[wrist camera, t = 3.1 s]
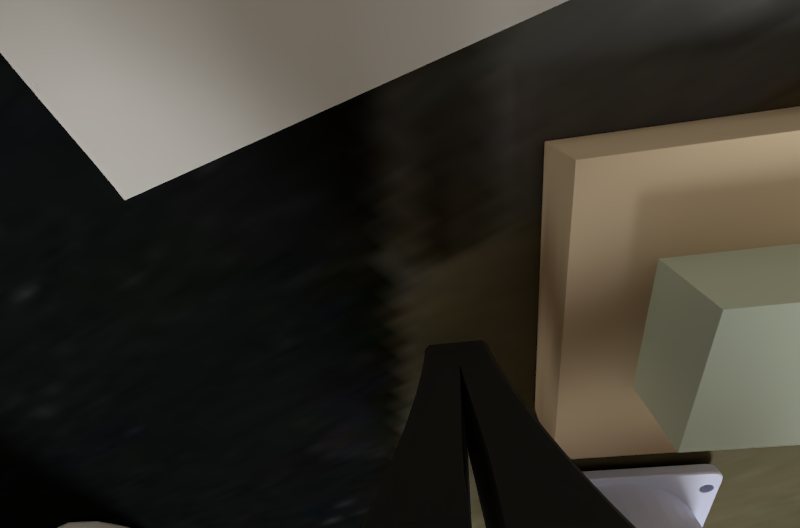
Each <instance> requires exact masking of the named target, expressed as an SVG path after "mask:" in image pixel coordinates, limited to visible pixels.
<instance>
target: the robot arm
mask: <svg viewBox="0 0 800 528" xmlns="http://www.w3.org/2000/svg"><path fill="white" fill-rule="evenodd" d="M467 448H468V449H467ZM468 452H469V457H470V461H471V465H472V470H473V474H474V478H475V483H476V487H477V491H478V495H479V500H480V504H481V508H482V512H483V517H484V521H485V525H486V528H702V527H703V524H704V522H705V519H706V517H707V515H708V512H709V510H710V508H711V505H712V503H713V500H714V498H715V496H716V493H717V491H718V489H719V486H720V484H721V481H722V478H723V476H722V474H721V473H720V472H719V470H718V469H717V468H716V466H714V465H711V464H694V465H678V466H662V467H646V468H630V469H614V470H598V471H581V470H580V469H579V468H578V467H577V466H576V465H575V463H574V462H573V461H572V460H571V459H570V458H569V457H568V456H567V454H566V453H565V452H564V451H563V450H562V448H561V447H560V446H559V445H558V444H557V443H556V441H555V440H554V439H553V438H552V437H551V435H550V434H549V433H548V432H547V431H546V429H545V428H544V427H543V426H542V424H541V423H540V422H539V421H538V419H537V418H536V417H535V416H534V414H533V413H532V412H531V410H530V409H529V408H528V406H527V405H526V404H525V402H524V401H523V400H522V398H521V397H520V396H519V394H518V393H517V392H516V390H515V389H514V387H513V386H512V384H511V383H510V382H509V380H508V379H507V377H506V376H505V374H504V373H503V371H502V370H501V368H500V366H499V365H498V363H497V362H496V360H495V358H494V356H493V355H492V353H491V351H490V349H489V347H488V345H487V344H486V343H485V342H484V341H482V340H480V341H469V342H459V343H449V344H438V345H429V346H428V347H427V348H426V349H425V358H424V364H423V369H422V374H421V378H420V382H419V385H418V389H417V393H416V396H415V399H414V402H413V405H412V408H411V411H410V414H409V417H408V420H407V423H406V426H405V429H404V431H403V434H402V436H401V439H400V441H399V444H398V446H397V449H396V451H395V454H394V456H393V459H392V461H391V464H390V466H389V468H388V470H387V473H386V475H385V477H384V479H383V482H382V484H381V486H380V488H379V490H378V492H377V494H376V496H375V498H374V501H373V503H372V505H371V507H370V509H369V511H368V513H367V515H366V517H365V519H364V521H363V522H362V524H361V526H360V528H472V524H471V505H470V486H469V467H468Z"/></svg>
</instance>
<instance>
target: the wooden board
mask: <svg viewBox="0 0 800 528" xmlns="http://www.w3.org/2000/svg"><path fill="white" fill-rule="evenodd" d="M798 243H800V106H798V107H791V108H784V109H776V110H769V111H762V112H755V113H747V114H740V115H733V116H726V117H718V118H711V119H704V120H697V121H689V122H682V123H675V124H668V125H660V126H653V127H646V128H639V129H631V130H624V131H617V132H609V133H602V134H595V135H588V136H580V137H573V138H566V139H559V140H551V141H545V145H544V173H543V200H542V227H541V255H540V282H539V309H538V337H537V364H536V391H535V411H536V414H537V417H538V419H539V422H540V423H541V424H542V426H543V427H544V428H545V429H546V431H547V432H548V433H549V434H550V435H551V437H552V438H553V439H554V440H555V441H556V443H557V444H558V445H559V446H560V447H561V448H562V450H563V451H564V452H565V453H566V454H567V456H568V457H569V458H570V459H581V458H596V457H611V456H627V455H642V454H657V453H672V452H677V450H676V449H675V447H674V446H673V444H672V443H671V441H670V440H669V439H668V437H667V436H666V434H665V433H664V431H663V430H662V428H661V427H660V425H659V424H658V422H657V421H656V420H655V418H654V417H653V415H652V414H651V412H650V411H649V409H648V408H647V406H646V405H645V404H644V402H643V401H642V399H641V398H640V396H639V395H638V393H637V392H636V390H635V389H634V387H633V383H634V378H635V373H636V368H637V363H638V358H639V354H640V349H641V344H642V339H643V334H644V329H645V324H646V319H647V314H648V309H649V304H650V299H651V294H652V289H653V284H654V279H655V274H656V269H657V264H658V259H660V258H669V257H678V256H687V255H697V254H706V253H715V252H724V251H733V250H743V249H752V248H761V247H770V246H780V245H789V244H798Z"/></svg>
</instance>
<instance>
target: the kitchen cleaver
mask: <svg viewBox="0 0 800 528" xmlns="http://www.w3.org/2000/svg"><path fill="white" fill-rule="evenodd" d="M566 1H569V0H0V53H1V54H2V55H3V56H4V58H5V59H6V60H7V61H8V62H9V64H10V65H11V66H12V67H13V68H14V70H15V71H16V72H17V73H18V74H19V76H20V77H21V78H22V79H23V80H24V82H25V83H26V84H27V85H28V86H29V87H30V89H31V90H32V91H33V92H34V93H35V95H36V96H37V97H38V98H39V99H40V100H41V102H42V103H43V104H44V105H45V106H46V107H47V109H48V110H49V111H50V112H51V113H52V114H53V116H54V117H55V118H56V119H57V120H58V121H59V123H60V124H61V125H62V126H63V127H64V128H65V130H66V131H67V132H68V133H69V134H70V135H71V137H72V138H73V139H74V140H75V141H76V142H77V144H78V145H79V146H80V147H81V148H82V149H83V151H84V152H85V153H86V154H87V155H88V156H89V158H90V159H91V160H92V161H93V162H94V163H95V165H96V166H97V167H98V168H99V169H100V171H101V172H102V173H103V174H104V175H105V177H106V178H107V179H108V180H109V181H110V183H111V184H112V185H113V186H114V188H115V189H116V190H117V191H118V193H119V194H120V195H121V196H122V198H123V199H124V200H126V199H129V198H131V197H133V196H135V195H138V194H140V193H142V192H144V191H146V190H149V189H151V188H153V187H155V186H158V185H160V184H162V183H164V182H166V181H169V180H171V179H173V178H175V177H178V176H180V175H182V174H184V173H186V172H189V171H191V170H193V169H195V168H198V167H200V166H202V165H204V164H206V163H209V162H211V161H213V160H215V159H218V158H220V157H222V156H224V155H226V154H229V153H231V152H233V151H235V150H238V149H240V148H242V147H244V146H246V145H249V144H251V143H253V142H255V141H258V140H260V139H262V138H264V137H266V136H269V135H271V134H273V133H275V132H278V131H280V130H282V129H284V128H286V127H289V126H291V125H293V124H295V123H298V122H300V121H302V120H304V119H306V118H309V117H311V116H313V115H315V114H318V113H320V112H322V111H324V110H326V109H329V108H331V107H333V106H335V105H338V104H340V103H342V102H344V101H346V100H349V99H351V98H353V97H355V96H358V95H360V94H362V93H364V92H366V91H369V90H371V89H373V88H375V87H378V86H380V85H382V84H384V83H386V82H389V81H391V80H393V79H395V78H398V77H400V76H402V75H404V74H406V73H409V72H411V71H413V70H415V69H418V68H420V67H422V66H424V65H426V64H429V63H431V62H433V61H435V60H438V59H440V58H442V57H444V56H446V55H449V54H451V53H453V52H455V51H458V50H460V49H462V48H464V47H466V46H469V45H471V44H473V43H475V42H478V41H480V40H482V39H484V38H486V37H489V36H491V35H493V34H495V33H498V32H500V31H502V30H504V29H506V28H509V27H511V26H513V25H515V24H518V23H520V22H522V21H524V20H526V19H529V18H531V17H533V16H535V15H538V14H540V13H542V12H544V11H546V10H549V9H551V8H553V7H555V6H558V5H560V4H562V3H564V2H566Z"/></svg>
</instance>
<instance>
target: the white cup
mask: <svg viewBox="0 0 800 528" xmlns="http://www.w3.org/2000/svg"><path fill="white" fill-rule="evenodd" d="M58 528H130V527H126V526H121V525H116V524H110V523H105V522H99V521H87V522H83V521H81V522H69V523H66V524H64V525H62V526H60V527H58Z"/></svg>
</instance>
